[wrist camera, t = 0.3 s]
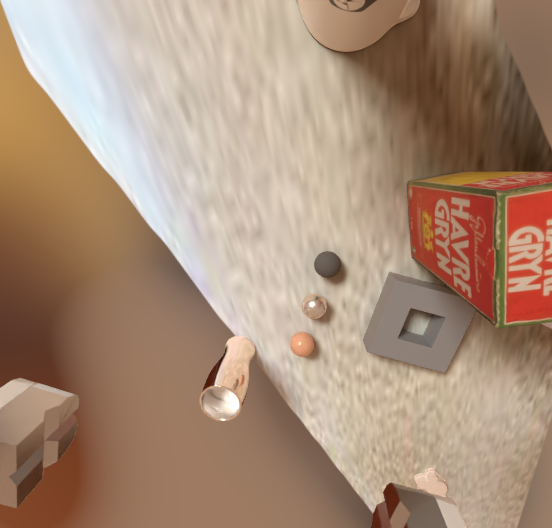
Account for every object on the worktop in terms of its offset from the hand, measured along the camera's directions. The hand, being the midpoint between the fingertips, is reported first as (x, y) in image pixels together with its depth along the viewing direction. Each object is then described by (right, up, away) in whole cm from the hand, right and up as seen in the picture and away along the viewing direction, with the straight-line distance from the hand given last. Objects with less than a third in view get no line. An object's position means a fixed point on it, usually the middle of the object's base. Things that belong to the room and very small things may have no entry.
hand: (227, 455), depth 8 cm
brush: (+34, -42, +59) cm, 80 cm away
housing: (+26, -5, +48) cm, 54 cm away
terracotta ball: (+6, -9, +51) cm, 52 cm away
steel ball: (+8, -2, +48) cm, 49 cm away
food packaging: (+28, +13, +42) cm, 52 cm away
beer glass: (-6, -12, +53) cm, 55 cm away
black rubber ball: (+10, +5, +46) cm, 48 cm away
